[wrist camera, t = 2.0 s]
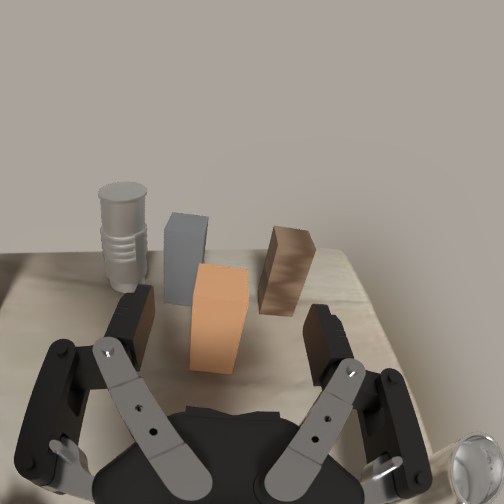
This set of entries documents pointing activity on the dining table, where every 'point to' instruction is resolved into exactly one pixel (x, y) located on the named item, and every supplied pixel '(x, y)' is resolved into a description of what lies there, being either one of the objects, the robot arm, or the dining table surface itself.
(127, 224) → the grey ribbed canister
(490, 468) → the beer glass
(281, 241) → the walnut block
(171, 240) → the grey block
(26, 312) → the dining table surface
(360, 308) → the dining table surface
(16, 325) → the dining table surface
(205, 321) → the orange block
